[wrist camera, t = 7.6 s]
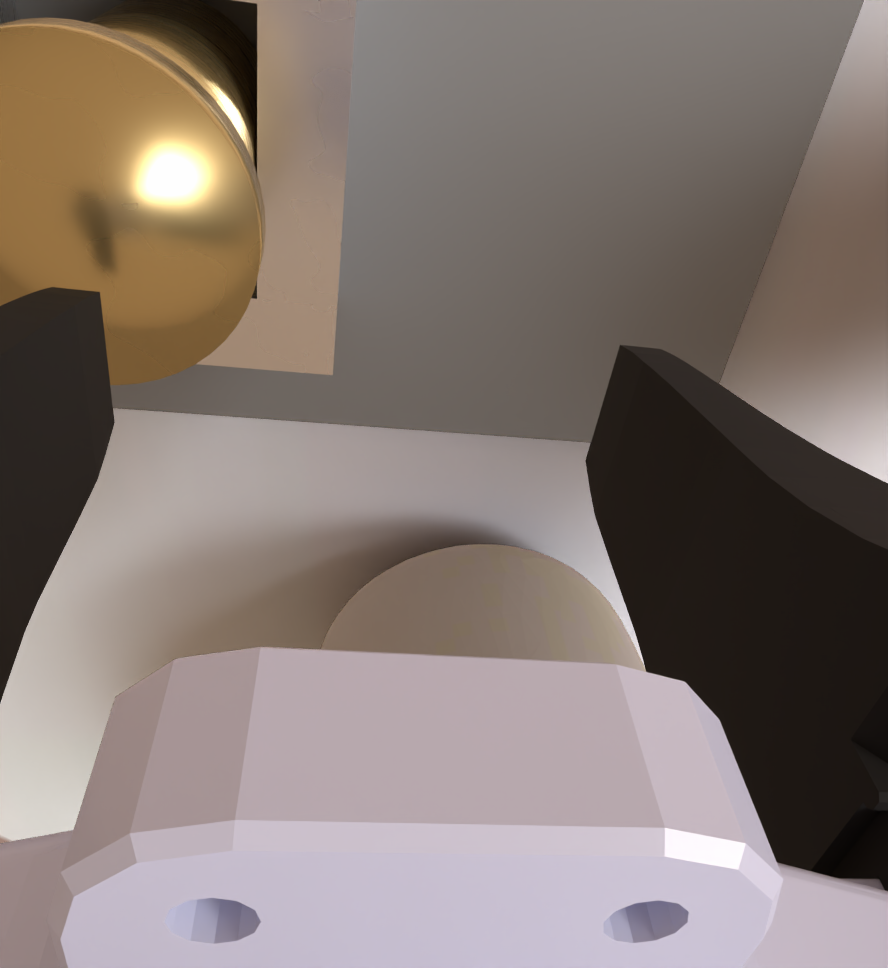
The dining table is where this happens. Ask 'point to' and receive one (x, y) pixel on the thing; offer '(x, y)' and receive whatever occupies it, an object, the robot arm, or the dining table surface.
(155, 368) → the brass door knob
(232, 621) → the dining table surface
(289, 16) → the block
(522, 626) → the teacup
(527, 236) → the mat
